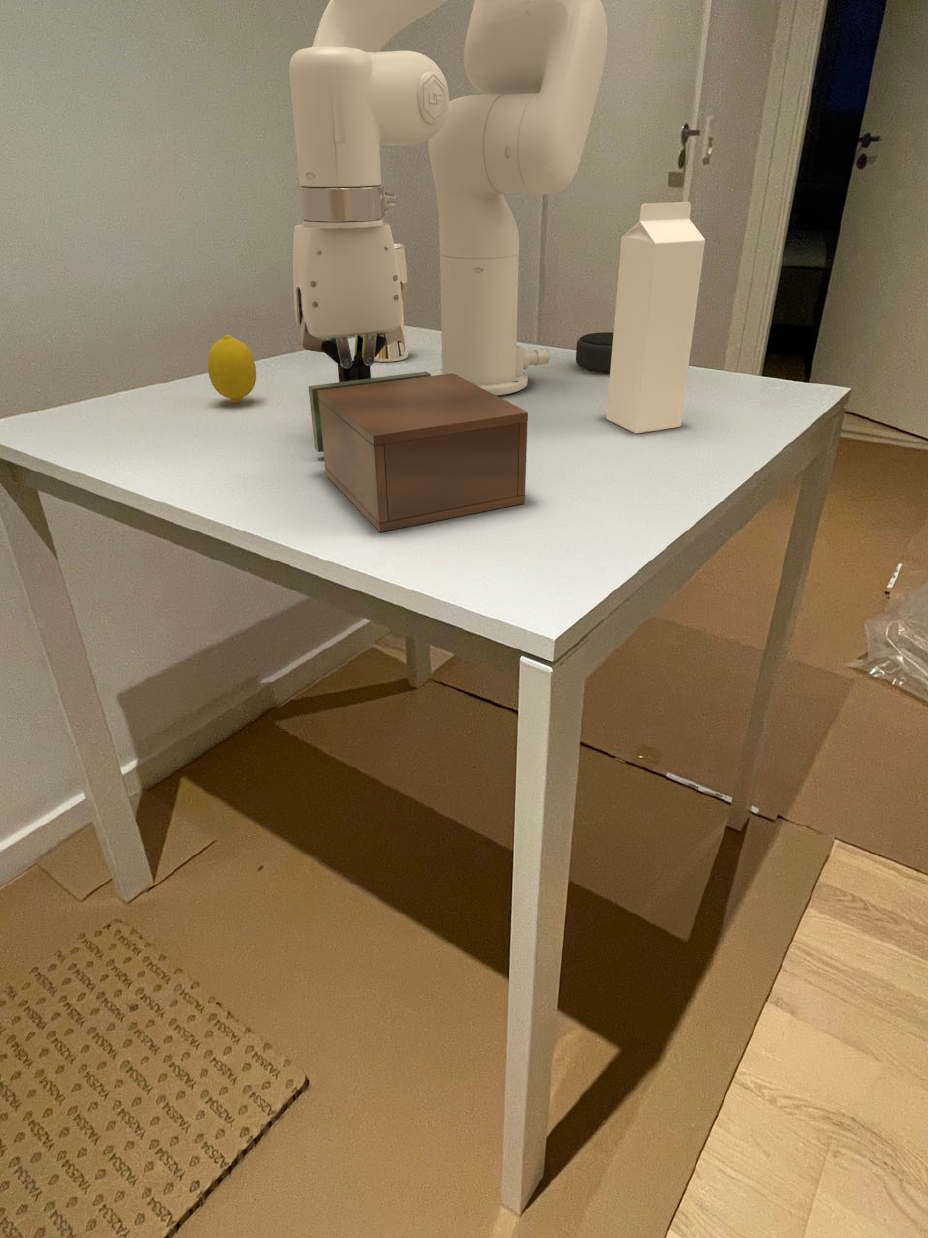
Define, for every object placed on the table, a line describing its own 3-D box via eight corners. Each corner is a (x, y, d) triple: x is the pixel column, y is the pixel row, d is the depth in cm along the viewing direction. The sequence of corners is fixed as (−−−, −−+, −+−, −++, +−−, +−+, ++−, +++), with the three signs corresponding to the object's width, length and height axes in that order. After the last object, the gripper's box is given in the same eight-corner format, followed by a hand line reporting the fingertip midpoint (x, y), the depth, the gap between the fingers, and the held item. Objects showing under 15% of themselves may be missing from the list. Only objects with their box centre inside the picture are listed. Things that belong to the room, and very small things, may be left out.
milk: (680, 427, 90) (712, 203, 78) (634, 434, 87) (660, 205, 76) (648, 412, 94) (674, 199, 83) (604, 418, 92) (624, 201, 81)
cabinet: (325, 475, 77) (317, 390, 73) (454, 453, 82) (453, 372, 78) (379, 532, 66) (373, 435, 62) (525, 503, 71) (528, 412, 67)
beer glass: (364, 352, 122) (356, 242, 114) (410, 351, 122) (406, 242, 115) (363, 363, 116) (355, 248, 108) (411, 362, 116) (407, 247, 109)
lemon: (248, 410, 96) (238, 340, 92) (205, 408, 97) (193, 338, 93) (267, 397, 101) (259, 330, 97) (226, 395, 102) (215, 329, 98)
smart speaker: (618, 378, 107) (620, 347, 105) (562, 368, 112) (564, 338, 110) (651, 366, 113) (654, 336, 111) (597, 357, 118) (599, 328, 116)
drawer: (295, 429, 87) (288, 369, 84) (402, 413, 91) (399, 356, 88) (359, 494, 71) (354, 423, 68) (486, 471, 75) (486, 404, 72)
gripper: (401, 203, 82) (408, 386, 91) (253, 208, 76) (277, 403, 85) (431, 207, 76) (436, 402, 85) (274, 214, 70) (297, 422, 80)
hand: (356, 402), depth 85 cm, fingers closed
